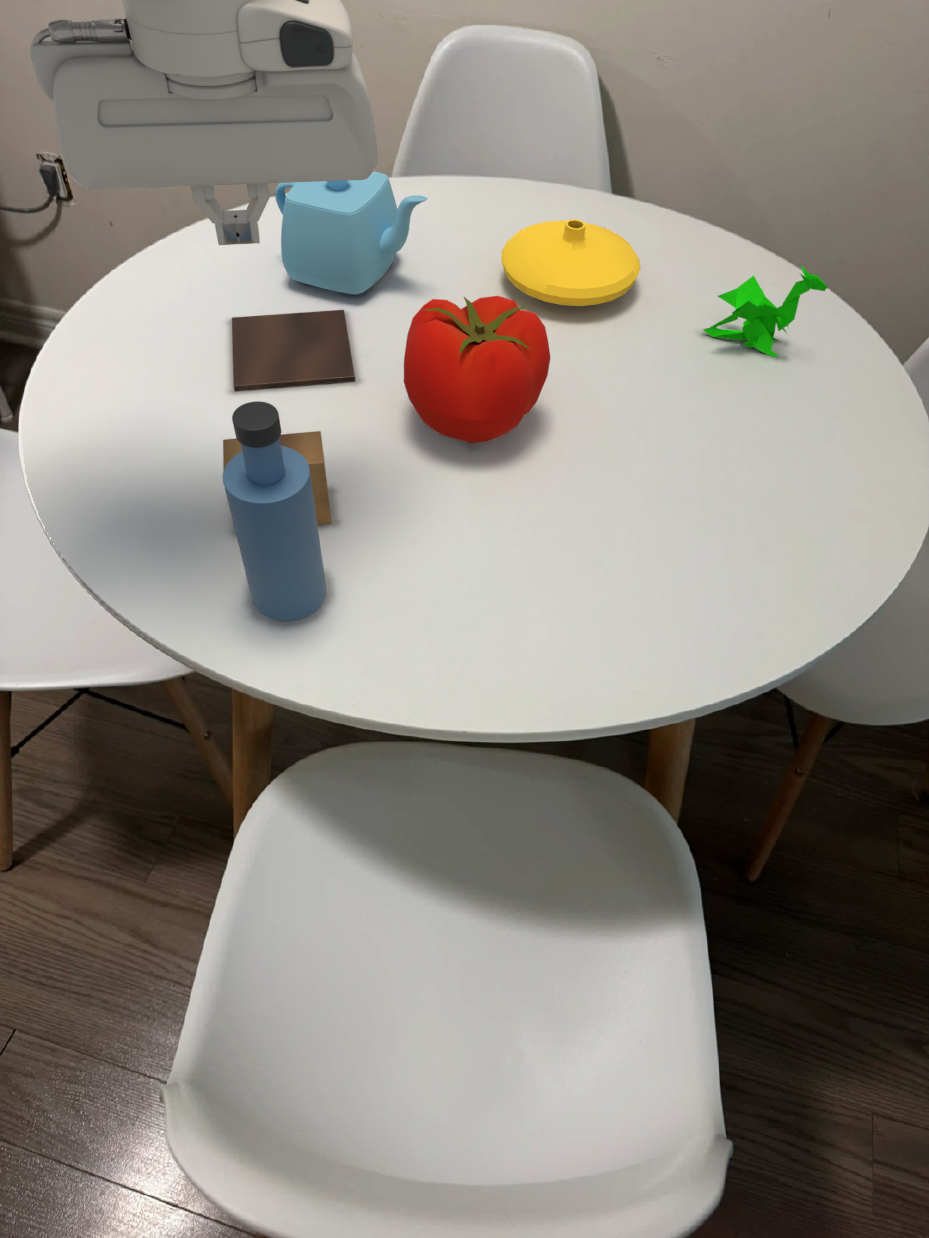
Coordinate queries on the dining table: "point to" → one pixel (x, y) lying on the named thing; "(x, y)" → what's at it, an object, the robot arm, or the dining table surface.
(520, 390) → the tomato
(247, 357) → the coaster
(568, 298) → the vase
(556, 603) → the dining table surface
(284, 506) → the bottle
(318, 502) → the prop block
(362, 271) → the teapot
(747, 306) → the figurine
